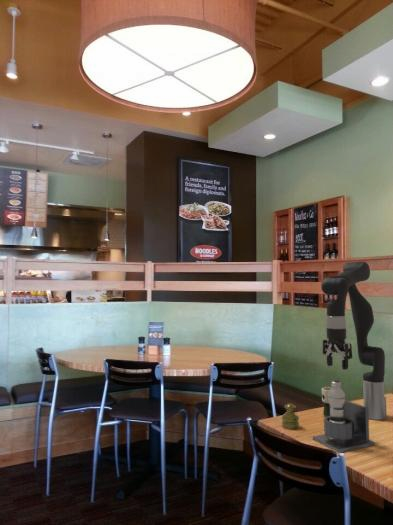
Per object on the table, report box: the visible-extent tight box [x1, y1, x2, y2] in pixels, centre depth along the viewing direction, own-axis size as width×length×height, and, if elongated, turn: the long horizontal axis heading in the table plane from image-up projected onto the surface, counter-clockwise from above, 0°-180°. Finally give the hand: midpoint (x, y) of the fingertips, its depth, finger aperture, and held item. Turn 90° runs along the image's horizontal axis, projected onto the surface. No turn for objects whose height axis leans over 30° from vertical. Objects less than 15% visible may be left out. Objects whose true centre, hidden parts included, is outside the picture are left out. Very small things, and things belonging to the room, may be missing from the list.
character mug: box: [321, 386, 332, 417], centre depth 199 cm, size 11×7×13 cm, turn 163°
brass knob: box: [281, 403, 300, 430], centre depth 185 cm, size 7×7×10 cm
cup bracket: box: [312, 399, 376, 453], centre depth 166 cm, size 18×15×14 cm
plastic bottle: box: [328, 380, 346, 424], centre depth 167 cm, size 6×7×20 cm
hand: (337, 367), depth 166 cm, fingers open, 8 cm apart
